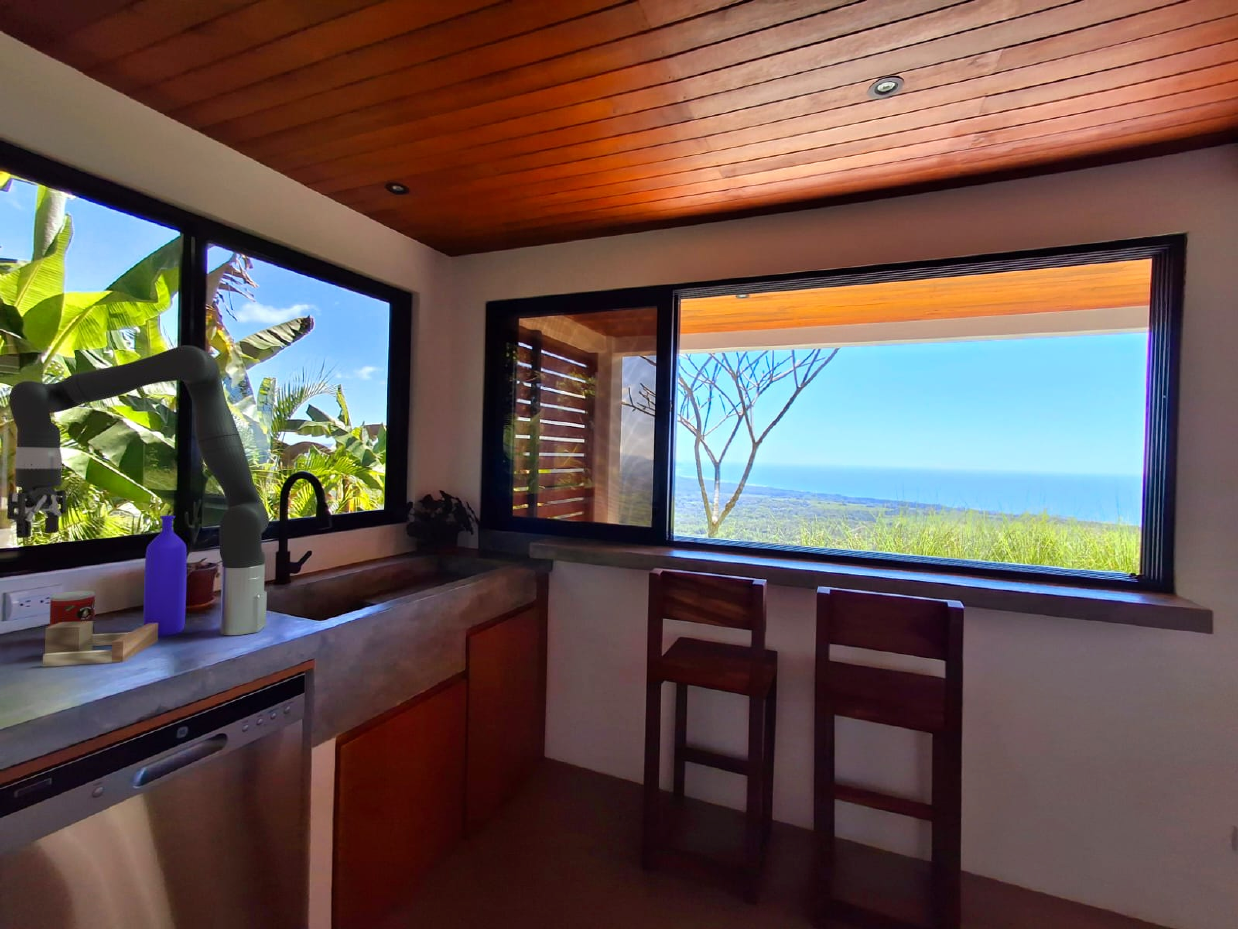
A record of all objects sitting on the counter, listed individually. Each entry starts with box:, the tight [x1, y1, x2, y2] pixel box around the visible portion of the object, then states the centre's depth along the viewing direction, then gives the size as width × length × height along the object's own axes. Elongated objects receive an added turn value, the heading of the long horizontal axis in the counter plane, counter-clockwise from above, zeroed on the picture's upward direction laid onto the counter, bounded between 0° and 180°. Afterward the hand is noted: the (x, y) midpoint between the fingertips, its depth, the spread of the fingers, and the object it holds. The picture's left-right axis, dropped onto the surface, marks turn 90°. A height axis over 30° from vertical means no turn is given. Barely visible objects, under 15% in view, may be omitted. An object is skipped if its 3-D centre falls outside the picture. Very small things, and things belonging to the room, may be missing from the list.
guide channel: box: [42, 623, 159, 668], centre depth 123 cm, size 14×14×4 cm
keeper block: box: [44, 621, 93, 654], centre depth 121 cm, size 6×4×7 cm
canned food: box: [49, 590, 96, 634], centre depth 131 cm, size 8×8×11 cm
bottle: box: [143, 515, 188, 638], centre depth 138 cm, size 8×8×30 cm
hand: (38, 535), depth 127 cm, fingers open, 8 cm apart
